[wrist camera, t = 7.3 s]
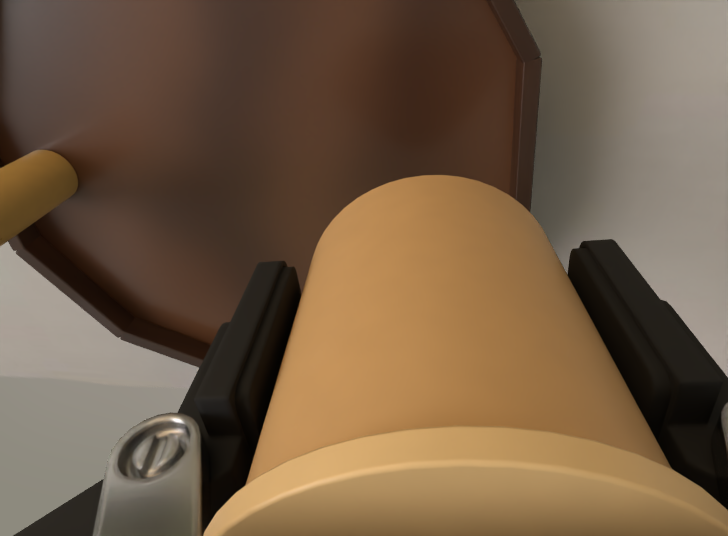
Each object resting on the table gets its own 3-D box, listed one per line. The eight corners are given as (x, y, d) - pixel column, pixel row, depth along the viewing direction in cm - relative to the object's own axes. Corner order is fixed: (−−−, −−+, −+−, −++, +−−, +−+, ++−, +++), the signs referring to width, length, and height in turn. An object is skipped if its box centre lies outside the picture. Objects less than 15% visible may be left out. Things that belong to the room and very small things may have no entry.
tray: (548, -270, 13) (711, -533, 6) (509, 342, 25) (551, 496, 18) (-146, -148, 16) (-591, -236, 9) (108, 356, 28) (3, 495, 20)
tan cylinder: (584, 146, 9) (897, 454, 4) (555, 379, 13) (692, 746, 7) (272, 172, 10) (93, 470, 4) (320, 388, 13) (256, 727, 7)
